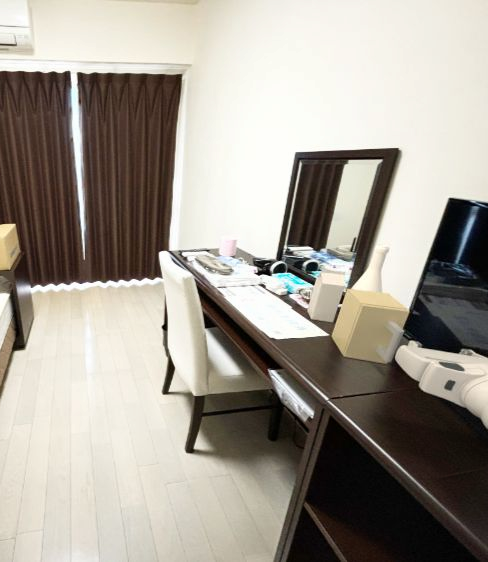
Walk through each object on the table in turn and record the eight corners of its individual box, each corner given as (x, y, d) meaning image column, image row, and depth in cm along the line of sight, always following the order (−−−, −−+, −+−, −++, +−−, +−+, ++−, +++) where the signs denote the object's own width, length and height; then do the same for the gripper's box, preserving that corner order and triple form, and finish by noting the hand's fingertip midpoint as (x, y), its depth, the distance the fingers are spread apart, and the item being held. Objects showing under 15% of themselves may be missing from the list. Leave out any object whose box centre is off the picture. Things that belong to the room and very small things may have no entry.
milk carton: (332, 323, 113) (348, 275, 106) (311, 319, 115) (325, 272, 108) (327, 314, 119) (341, 268, 112) (306, 311, 121) (319, 266, 114)
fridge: (384, 362, 91) (407, 309, 85) (342, 354, 95) (361, 303, 88) (369, 342, 101) (388, 293, 94) (331, 336, 104) (347, 288, 97)
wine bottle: (354, 317, 117) (381, 241, 106) (377, 330, 109) (410, 249, 97) (333, 318, 116) (358, 242, 104) (355, 332, 107) (385, 250, 96)
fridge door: (396, 375, 86) (421, 320, 79) (350, 367, 89) (371, 313, 82) (385, 362, 91) (407, 309, 84) (343, 355, 94) (361, 303, 88)
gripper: (570, 388, 53) (504, 344, 65) (425, 363, 58) (389, 327, 70) (550, 415, 55) (490, 368, 67) (412, 389, 60) (380, 350, 73)
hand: (437, 347), depth 69 cm, fingers open, 8 cm apart
